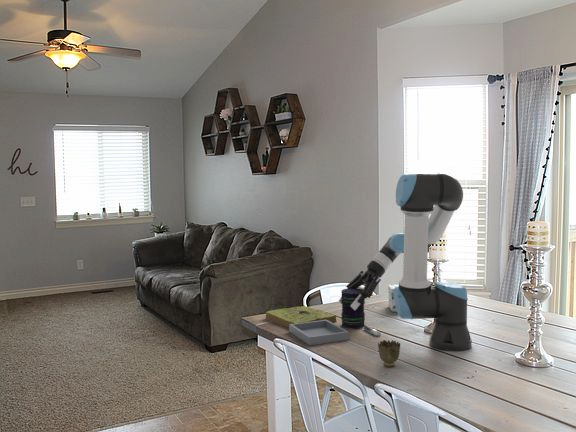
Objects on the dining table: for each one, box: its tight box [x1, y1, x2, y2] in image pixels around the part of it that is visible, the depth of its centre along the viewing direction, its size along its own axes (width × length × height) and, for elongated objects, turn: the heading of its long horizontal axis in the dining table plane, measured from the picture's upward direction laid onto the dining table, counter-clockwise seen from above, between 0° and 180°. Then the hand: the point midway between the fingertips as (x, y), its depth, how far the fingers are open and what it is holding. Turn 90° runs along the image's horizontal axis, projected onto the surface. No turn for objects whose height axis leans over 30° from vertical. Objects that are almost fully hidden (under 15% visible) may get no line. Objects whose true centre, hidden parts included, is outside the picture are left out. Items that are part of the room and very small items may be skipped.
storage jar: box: [340, 288, 366, 330], centre depth 247 cm, size 10×10×15 cm
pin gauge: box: [363, 325, 382, 337], centre depth 236 cm, size 10×2×2 cm
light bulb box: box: [388, 284, 399, 313], centre depth 274 cm, size 11×7×11 cm, turn 179°
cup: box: [377, 339, 401, 368], centre depth 197 cm, size 8×7×8 cm
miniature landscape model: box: [265, 305, 337, 328], centre depth 257 cm, size 22×24×5 cm
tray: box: [288, 320, 350, 346], centre depth 233 cm, size 20×17×3 cm
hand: (346, 305), depth 245 cm, fingers closed on storage jar, 10 cm apart
